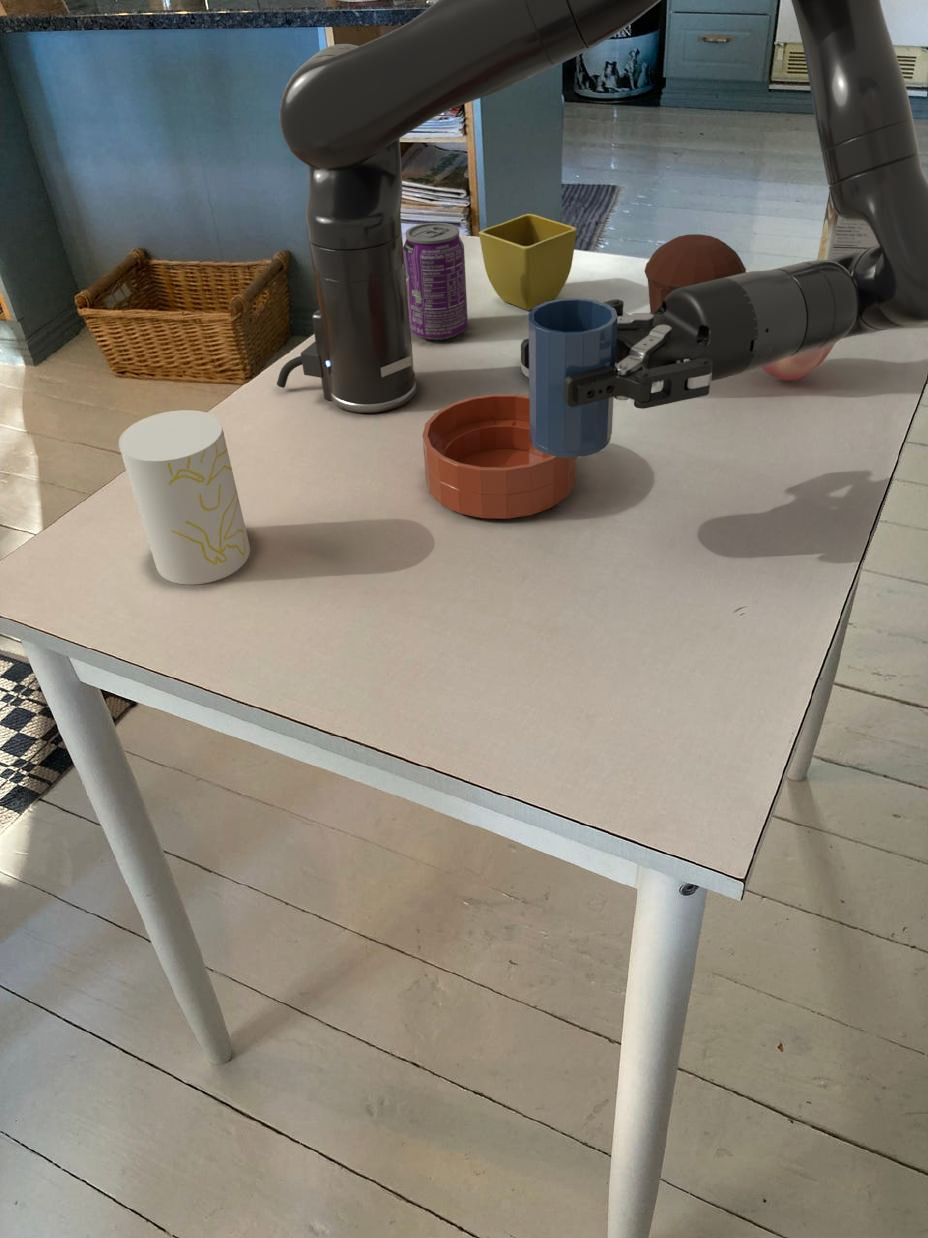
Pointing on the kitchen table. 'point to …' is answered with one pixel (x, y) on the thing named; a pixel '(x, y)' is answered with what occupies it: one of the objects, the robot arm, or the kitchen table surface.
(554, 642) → the kitchen table surface
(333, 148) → the robot arm
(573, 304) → the tumbler
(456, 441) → the bowl
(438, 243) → the beverage can
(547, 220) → the flower pot
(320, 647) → the kitchen table surface
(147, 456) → the cup
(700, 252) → the muffin
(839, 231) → the coffee box
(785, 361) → the decorative fruit
